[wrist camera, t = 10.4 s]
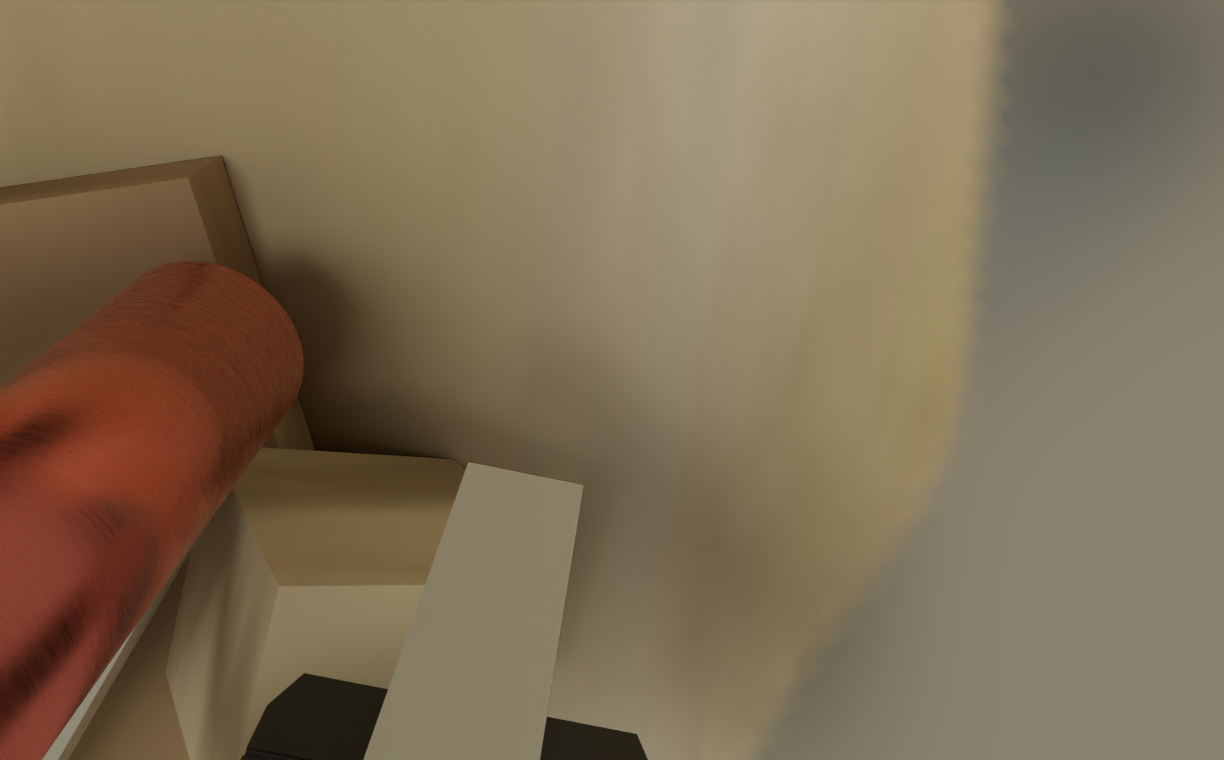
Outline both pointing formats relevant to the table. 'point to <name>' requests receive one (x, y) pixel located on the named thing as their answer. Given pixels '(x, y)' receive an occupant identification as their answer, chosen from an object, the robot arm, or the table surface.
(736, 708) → the table surface
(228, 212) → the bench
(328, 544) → the block
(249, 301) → the lever
